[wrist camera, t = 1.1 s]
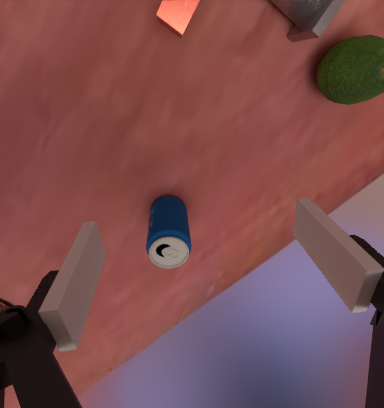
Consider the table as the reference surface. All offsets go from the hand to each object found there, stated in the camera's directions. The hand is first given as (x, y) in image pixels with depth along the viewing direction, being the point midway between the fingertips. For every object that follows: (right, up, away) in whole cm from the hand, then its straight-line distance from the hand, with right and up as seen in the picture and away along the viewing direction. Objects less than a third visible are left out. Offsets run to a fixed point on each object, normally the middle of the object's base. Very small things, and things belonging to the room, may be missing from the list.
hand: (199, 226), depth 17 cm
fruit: (+20, +21, +20) cm, 35 cm away
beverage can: (-5, 0, +29) cm, 30 cm away
